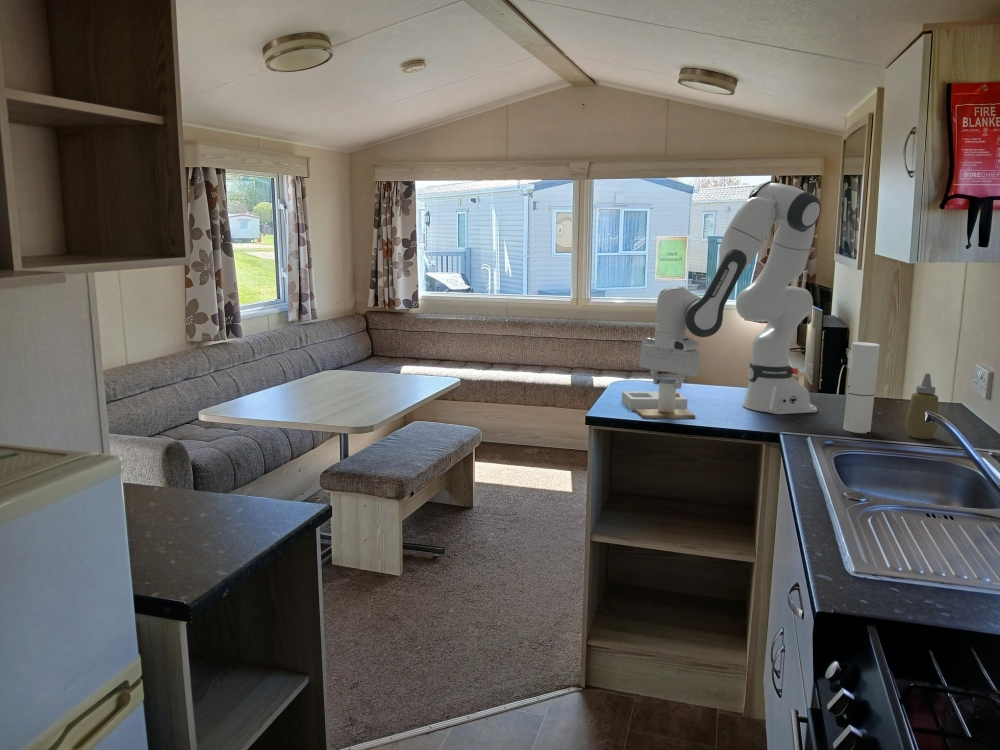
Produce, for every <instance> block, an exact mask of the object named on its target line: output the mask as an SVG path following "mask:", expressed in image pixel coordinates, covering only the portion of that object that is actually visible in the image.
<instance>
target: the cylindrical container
mask: <svg viewBox="0 0 1000 750" xmlns="http://www.w3.org/2000/svg"><path fill="white" fill-rule="evenodd" d="M880 346H881V345H880V344H879V343H874V342H865V341H854V342H851V349H850V359H849V369H848V377H847V378H848V379H847V388H846V399H845V406H844V407H845V409H844V418H843V426H842V427H843V428H842V429H843V430H844V431H845V432H846V431H847V432H851V433H854V434H855V433H857V434H868V433H867V432H869V433H871V428H872V419H873V409H874V402H875V394H876V393H875V392H876V391H875V390H876V382H877V374H878V373H877V372H878V364H879V356H880V348H881V347H880Z"/></svg>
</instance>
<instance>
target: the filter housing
mask: <svg viewBox="0 0 1000 750" xmlns="http://www.w3.org/2000/svg"><path fill="white" fill-rule="evenodd" d="M679 394H680V395H679V397H675V409H687V410H688V398H686V397H685V396H684V395H682V394H681V393H679ZM658 400H659V390H657V391H656V390H655V391H653V390H649V391H645V390H640V391H638V390H634V391H632V390H625V391H624V390H622V391H621V402H622V404H624V405H625V407H627V408H628V409H629V410H630V411H636V409H658Z"/></svg>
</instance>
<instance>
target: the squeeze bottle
mask: <svg viewBox="0 0 1000 750" xmlns="http://www.w3.org/2000/svg"><path fill="white" fill-rule="evenodd" d="M935 393H936V387H935V386H932V378H931V373H927V372H926V373H925V374H924V377H922V382H921V384H919V385H916V389H915V392H913V393H912V394H911V397H910V401H909V404H908V405H909V406H908V409H907V415H906V419H905V428H906V431H907V435H908V436H909V437H911V438H913V439H914V438H915V439H917V438H918V440H931V439H933V437H934V435H935V433H936V431H937V429H938V427H939V423H938V424H937V423H934V422H926V421H925V412H926V411H927V410H928V411H931V412H934V413H936V414H938V415H939V396H938V395H937V394H935Z"/></svg>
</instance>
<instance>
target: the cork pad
mask: <svg viewBox="0 0 1000 750" xmlns="http://www.w3.org/2000/svg"><path fill="white" fill-rule="evenodd" d="M635 412H636V414H637V415H638V416H640V417H641V419H643V418H665V419H696V415H695V414H694V413H693V412H692V411H690V410H689V409H688V408H687V409H675V412H671V413H669V412H660V411H658V409H636V410H635Z"/></svg>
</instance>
